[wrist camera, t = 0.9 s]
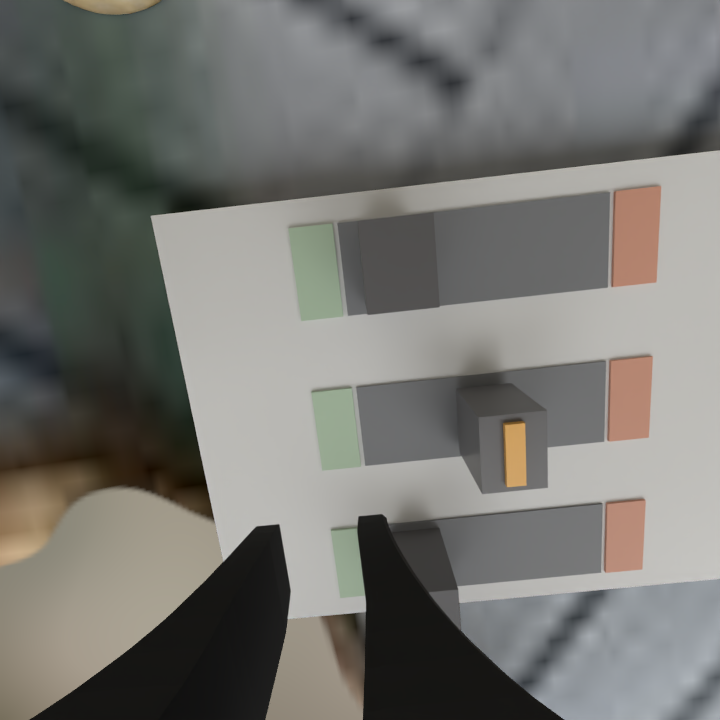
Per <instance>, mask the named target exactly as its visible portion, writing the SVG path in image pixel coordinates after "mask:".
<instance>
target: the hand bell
mask: <svg viewBox="0 0 720 720" xmlns="http://www.w3.org/2000/svg"><path fill="white" fill-rule="evenodd" d="M64 1H66V2H68V3H70V4H72V5H74V6H77V7H80V8H82V9H85V10H88V11H92V12H95V13H101V14H116V15H121V14H131V13H134V12H138V11H141V10H144V9H147V8H149V7H152V6H153V5H155V4H157V3H158V2H160V1H161V0H64Z"/></svg>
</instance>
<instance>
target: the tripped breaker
mask: <svg viewBox="0 0 720 720" xmlns="http://www.w3.org/2000/svg"><path fill="white" fill-rule="evenodd" d="M456 401H457V418H458V435H459V451H460V454H461V456H462V458H463V460H464V462H465V463H466V465H467V467H468V469H469V471H470V473H471V474H472V476H473V478H474V480H475V482H476V484H477V486H478V487H479V489H480V491H481V493H482V494H490V493H500V492H510V491H520V490H530V489H540V488H548V448H547V410H546V409H545V408H543V407H542V406H541V405H539V404H538V403H537V402H535V401H534V400H533V399H532V398H530V397H529V396H528V395H526V394H525V393H524V392H522V391H521V390H520V389H518V388H517V387H516V386H515V385H513V384H512V383H506V384H496V385H487V386H477V387H468V388H458V389H456Z"/></svg>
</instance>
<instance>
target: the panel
mask: <svg viewBox="0 0 720 720" xmlns="http://www.w3.org/2000/svg"><path fill="white" fill-rule="evenodd" d="M151 219H152V224H153V229H154V234H155V238H156V243H157V248H158V253H159V258H160V262H161V267H162V272H163V277H164V281H165V286H166V291H167V296H168V300H169V305H170V310H171V315H172V320H173V324H174V329H175V334H176V339H177V343H178V348H179V353H180V358H181V362H182V367H183V372H184V377H185V382H186V386H187V391H188V396H189V401H190V405H191V410H192V415H193V420H194V424H195V429H196V434H197V439H198V444H199V448H200V453H201V458H202V463H203V467H204V472H205V477H206V482H207V486H208V491H209V496H210V501H211V505H212V510H213V515H214V520H215V525H216V529H217V534H218V539H219V544H220V548H221V553H222V558H223V562H224V561H225V560H226V559H227V557H228V556H229V555H230V554H231V553H232V552H233V551H234V550H235V549H236V548H237V547H238V545H239V544H240V543H241V542H242V541H243V540H244V539H245V538H246V537H247V536H248V535H249V533H250V532H251V531H252V530H253V529H254V528H255V527H256V526H265V525H275V524H279V525H280V530H281V536H282V542H283V548H284V554H285V560H286V565H287V571H288V577H289V583H290V589H291V595H290V603H289V612H288V619H295V618H306V617H316V616H327V615H338V614H349V613H360V612H366V599H365V591H364V583H363V575H362V567H361V559H360V551H359V543H358V535H357V526H358V516H367V515H377V514H383V515H384V516H385V517H386V518H387V522H388V525H389V528H390V530H391V533H392V535H393V537H394V539H395V541H396V543H397V545H398V547H399V548H400V550H401V552H402V554H403V555H404V557H405V559H406V560H407V562H408V563H409V565H410V567H411V568H412V570H413V571H414V573H415V574H416V576H417V577H418V579H419V580H420V582H421V583H422V584H423V586H424V587H425V588H426V590H427V591H428V593H429V594H430V595H431V596H432V598H433V599H434V600H435V602H436V603H437V604H438V605H439V607H440V608H441V609H442V610H443V611H444V612H445V614H446V615H447V616H448V617H449V618H450V619H451V621H452V622H453V623H454V624H455V625H456V626H457V627H458V628H459V629H460V630H461V622H460V607H459V603H466V602H477V601H488V600H498V599H509V598H520V597H530V596H541V595H552V594H562V593H573V592H584V591H594V590H605V589H616V588H626V587H637V586H648V585H658V584H669V583H680V582H690V581H701V580H712V579H720V150H718V151H709V152H700V153H692V154H683V155H674V156H666V157H657V158H648V159H640V160H631V161H622V162H614V163H605V164H596V165H588V166H579V167H570V168H562V169H553V170H544V171H536V172H527V173H518V174H510V175H501V176H492V177H484V178H475V179H466V180H458V181H449V182H440V183H432V184H423V185H414V186H406V187H397V188H388V189H379V190H371V191H362V192H353V193H345V194H336V195H327V196H319V197H310V198H301V199H293V200H284V201H275V202H267V203H258V204H249V205H241V206H232V207H223V208H215V209H206V210H197V211H189V212H180V213H171V214H163V215H154V216H151ZM506 383H512V384H513V385H515V386H516V387H517V388H518V389H520V390H521V391H522V392H524V393H525V394H526V395H528V396H529V397H530V398H532V399H533V400H534V401H535V402H537V403H538V404H539V405H541V406H542V407H543V408H545V409H546V410H547V448H548V488H540V489H530V490H520V491H510V492H500V493H490V494H482V493H481V491H480V489H479V487H478V486H477V484H476V482H475V480H474V478H473V476H472V474H471V473H470V471H469V469H468V467H467V465H466V463H465V462H464V460H463V458H462V456H461V454H460V451H459V435H458V418H457V401H456V389H458V388H468V387H477V386H487V385H496V384H506Z"/></svg>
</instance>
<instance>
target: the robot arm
mask: <svg viewBox="0 0 720 720" xmlns="http://www.w3.org/2000/svg"><path fill="white" fill-rule="evenodd" d="M357 535H358V543H359V551H360V559H361V567H362V575H363V583H364V591H365V599H366V644H365V682H364V709H363V720H564V719H562V718H561V717H560V716H558V715H557V714H556V713H554V712H553V711H551V710H550V709H549V708H547V707H546V706H545V705H543V704H542V703H540V702H539V701H538V700H537V699H535V698H534V697H533V696H531V695H530V694H529V693H528V692H527V691H525V690H524V689H523V688H522V687H521V686H519V685H518V684H517V683H516V682H515V681H513V680H512V679H511V678H510V677H509V676H507V675H506V674H505V673H504V672H503V671H502V670H501V669H500V668H499V667H498V666H497V665H496V664H494V663H493V662H492V661H491V660H490V659H489V658H488V657H487V656H486V655H485V654H484V653H483V652H482V651H481V650H480V649H478V648H477V647H476V646H475V645H474V644H473V643H472V642H471V641H470V640H469V639H468V638H467V637H466V636H465V635H464V634H463V632H462V631H461V630H460V629H459V628H458V627H457V626H456V625H455V624H454V623H453V622H452V621H451V619H450V618H449V617H448V616H447V615H446V614H445V612H444V611H443V610H442V609H441V608H440V607H439V605H438V604H437V603H436V602H435V600H434V599H433V598H432V596H431V595H430V594H429V593H428V591H427V590H426V588H425V587H424V586H423V584H422V583H421V582H420V580H419V579H418V577H417V576H416V574H415V573H414V571H413V570H412V568H411V567H410V565H409V563H408V562H407V560H406V559H405V557H404V555H403V554H402V552H401V550H400V548H399V547H398V545H397V543H396V541H395V539H394V537H393V535H392V533H391V530H390V528H389V525H388V522H387V518H386V517H385V516H384V515H383V514H377V515H367V516H358V526H357ZM290 595H291V589H290V583H289V577H288V571H287V565H286V560H285V554H284V548H283V542H282V536H281V530H280V525H279V524H275V525H265V526H256V527H255V528H254V529H253V530H252V531H251V532H250V533H249V535H248V536H247V537H246V538H245V539H244V540H243V541H242V542H241V543H240V544H239V545H238V547H237V548H236V549H235V550H234V551H233V552H232V553H231V554H230V555H229V556H228V557H227V559H226V560H225V561H224V562H223V563H222V564H221V565H220V566H219V567H218V568H217V569H216V570H215V571H214V573H212V574H211V576H210V577H209V578H208V579H207V580H206V581H205V582H204V583H203V584H202V585H201V586H200V587H199V588H198V589H196V590H195V591H194V592H193V593H192V594H191V595H190V596H189V597H188V598H187V599H186V600H185V601H184V602H183V603H182V604H181V605H180V606H179V607H178V608H177V609H176V610H175V611H174V612H173V613H171V614H170V615H169V616H168V617H167V618H166V619H165V620H164V621H163V622H161V623H160V624H159V625H158V626H157V627H156V628H154V629H153V630H152V631H151V632H150V633H149V634H147V635H146V636H145V637H144V638H142V639H141V640H140V641H139V642H138V643H136V644H135V645H134V646H133V647H132V648H130V649H129V650H128V651H126V652H125V653H124V654H123V655H121V656H120V657H119V658H117V659H116V660H115V661H113V662H112V663H111V664H109V665H108V666H107V667H105V668H104V669H103V670H101V671H100V672H98V673H97V674H96V675H94V676H93V677H91V678H90V679H89V680H87V681H86V682H85V683H83V684H82V685H81V686H79V687H78V688H77V689H75V690H74V691H72V692H71V693H70V694H68V695H66V696H65V697H63V698H62V699H61V700H59V701H57V702H56V703H54V704H53V705H51V706H50V707H49V708H47V709H46V710H44V711H42V712H41V713H39V714H38V715H36V716H35V717H33V718H31V719H30V720H265V718H266V714H267V710H268V706H269V701H270V698H271V693H272V689H273V685H274V681H275V677H276V673H277V669H278V664H279V660H280V656H281V651H282V647H283V643H284V639H285V634H286V628H287V620H288V612H289V603H290Z"/></svg>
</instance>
